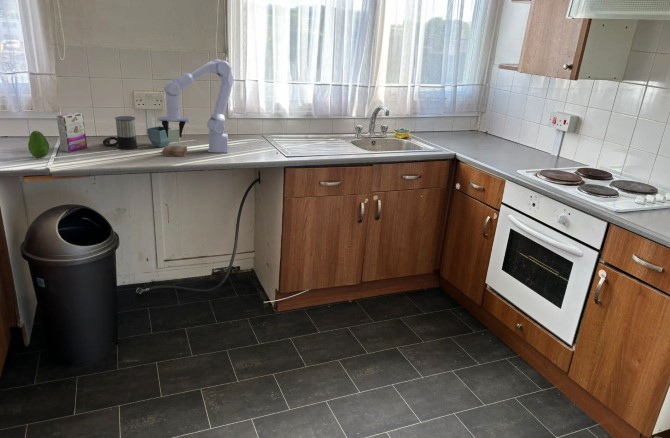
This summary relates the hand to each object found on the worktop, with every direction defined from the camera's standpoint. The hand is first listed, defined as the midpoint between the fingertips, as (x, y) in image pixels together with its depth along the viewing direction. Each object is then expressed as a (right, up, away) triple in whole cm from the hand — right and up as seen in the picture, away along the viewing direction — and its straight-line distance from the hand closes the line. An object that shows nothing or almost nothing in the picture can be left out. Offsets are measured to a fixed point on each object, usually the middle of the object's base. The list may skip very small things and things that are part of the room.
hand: (174, 136), depth 240 cm
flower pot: (-12, -2, +14) cm, 19 cm away
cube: (0, -2, 0) cm, 2 cm away
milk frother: (-29, -4, +8) cm, 30 cm away
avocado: (-53, -12, -19) cm, 57 cm away
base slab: (-1, -8, +3) cm, 8 cm away
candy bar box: (-46, -7, -3) cm, 47 cm away
